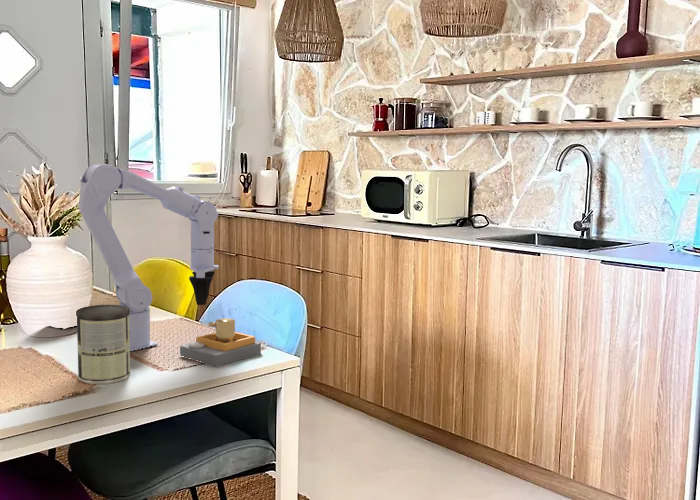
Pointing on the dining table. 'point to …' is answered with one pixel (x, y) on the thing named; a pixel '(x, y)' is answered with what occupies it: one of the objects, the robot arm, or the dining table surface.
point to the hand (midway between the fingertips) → (202, 301)
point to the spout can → (224, 330)
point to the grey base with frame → (221, 349)
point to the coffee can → (103, 343)
